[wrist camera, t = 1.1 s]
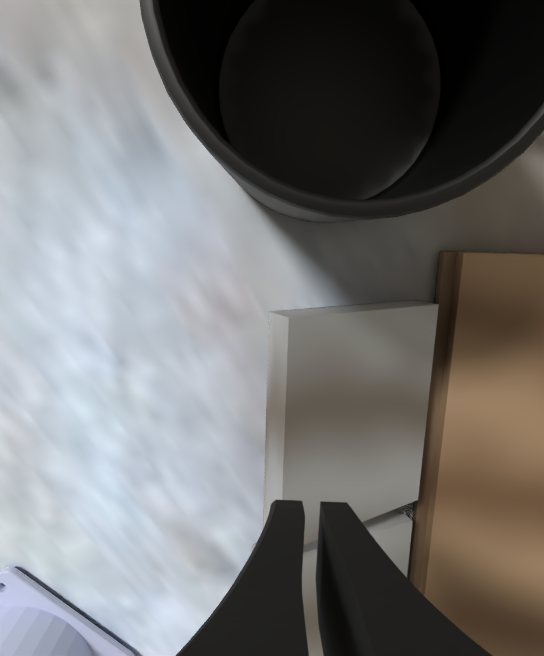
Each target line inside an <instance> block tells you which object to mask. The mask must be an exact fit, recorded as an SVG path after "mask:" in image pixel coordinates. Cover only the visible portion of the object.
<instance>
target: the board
mask: <svg viewBox="0 0 544 656" xmlns="http://www.w3.org/2000/svg"><path fill="white" fill-rule="evenodd" d="M435 304H439V306H438V316H437V325H436V334H435V344H434V353H433V363H432V372H431V382H430V391H429V401H428V410H427V419H426V429H425V438H424V448H423V457H422V467H421V476H420V486H419V495H418V500H417V501H414V507H413V517H412V521H413V523H412V533H411V542H410V552H409V562H408V571H407V578H408V580H409V581H410V582H411V583H412V584H413V585H414V586H415V587H416V588H417V589H418V590H419V591H420V592H421V593H422V594H423V595H424V596H425V597H426V598H427V599H428V600H429V601H430V602H431V603H432V604H433V605H434V606H435V607H436V608H437V609H438V610H439V611H440V612H441V613H443V614H444V615H445V616H446V617H447V618H448V619H449V620H450V621H451V622H452V623H454V624H455V625H456V626H457V627H458V628H459V629H460V630H461V631H463V632H464V633H465V634H466V635H467V636H469V637H470V638H471V639H472V640H473V641H475V642H476V643H477V644H478V645H480V646H481V647H482V648H483V649H485V650H486V651H487V652H489V653H490V654H491V655H492V656H544V254H521V253H487V252H454V251H440V257H439V267H438V276H437V286H436V295H435Z"/></svg>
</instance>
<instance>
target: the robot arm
mask: <svg viewBox="0 0 544 656" xmlns="http://www.w3.org/2000/svg"><path fill="white" fill-rule="evenodd" d="M304 530H305V513H304V507H303V502H302V501H299V500H275V501H274V502H272V503H271V506H270V511H269V515H268V518H267V521H266V524H265V526H264V528H263V531H262V533H261V535H260V537H259V539H258V541H257V543H256V545H255V547H254V549H253V551H252V553H251V555H250V557H249V559H248V561H247V562H246V564H245V566H244V567H243V569H242V570H241V572H240V574H239V575H238V577H237V579H236V580H235V582H234V584H233V585H232V587H231V588H230V590H229V591H228V592H227V594H226V595H225V597H224V598H223V600H222V601H221V602H220V604H219V605H218V606H217V608H216V609H215V610H214V612H213V613H212V614H211V616H210V617H209V618H208V619H207V621H206V622H205V623H204V624H203V625H202V626H201V628H200V629H199V630H198V631H197V632H196V634H195V635H194V636H193V637H192V638H191V639H190V641H189V642H188V643H187V644H186V645H185V646H184V647H183V648H182V649H181V651H180V652H179V653H178V654H177V655H176V656H309V652H308V643H307V635H306V626H305V616H304V606H303V597H302V566H303V548H304ZM315 580H316V597H317V612H318V625H319V631H320V637H321V643H322V649H323V655H324V656H492V655H491V654H490V653H489V652H487V651H486V650H485V649H483V648H482V647H481V646H480V645H478V644H477V643H476V642H475V641H473V640H472V639H471V638H470V637H469V636H467V635H466V634H465V633H464V632H463V631H461V630H460V629H459V628H458V627H457V626H456V625H455V624H454V623H452V622H451V621H450V620H449V619H448V618H447V617H446V616H445V615H444V614H443V613H441V612H440V611H439V610H438V609H437V608H436V607H435V606H434V605H433V604H432V603H431V602H430V601H429V600H428V599H427V598H426V597H425V596H424V595H423V594H422V593H421V592H420V591H419V590H418V589H417V588H416V587H415V586H414V585H413V584H412V583H411V582H410V581H409V580H408V578H407V577H406V576H405V575H404V574H403V573H402V572H401V571H400V569H399V568H398V567H397V566H396V565H395V564H394V562H393V561H392V560H391V559H390V558H389V556H388V555H387V554H386V553H385V552H384V550H383V549H382V548H381V547H380V545H379V544H378V543H377V542H376V540H375V539H374V538H373V536H372V535H371V534H370V533H369V531H368V530H367V529H366V527H365V526H364V525H363V523H362V522H361V520H360V519H359V518H358V516H357V515H356V513H355V512H354V511H353V509H352V508H351V507H350V505H349V504H348V503H347V502H324V501H320V514H319V530H318V546H317V561H316V577H315ZM1 583H3V584H4V585H5V586H4V585H2V584H1ZM0 656H135V655H134V654H133V652H131V651H130V650H129V649H127V648H126V647H125V646H123V645H122V644H120V643H119V642H118V641H116V640H115V639H114V638H112V637H111V636H109V635H108V634H107V633H105V632H104V631H102V630H101V629H100V628H98V627H97V626H96V625H94V624H93V623H91V622H90V621H89V620H87V619H86V618H84V617H83V616H82V615H80V614H79V613H78V612H76V611H75V610H73V609H72V608H71V607H69V606H68V605H66V604H65V603H64V602H62V601H61V600H60V599H58V598H57V597H55V596H54V595H53V594H51V593H50V592H48V591H47V590H46V589H44V588H43V587H42V586H40V585H39V584H37V583H36V582H35V581H33V580H32V579H30V578H29V577H28V576H26V575H25V574H24V573H22V572H21V571H19V570H18V569H17V568H15V567H10V566H8V567H5V568H3V569H2V570H1V571H0Z"/></svg>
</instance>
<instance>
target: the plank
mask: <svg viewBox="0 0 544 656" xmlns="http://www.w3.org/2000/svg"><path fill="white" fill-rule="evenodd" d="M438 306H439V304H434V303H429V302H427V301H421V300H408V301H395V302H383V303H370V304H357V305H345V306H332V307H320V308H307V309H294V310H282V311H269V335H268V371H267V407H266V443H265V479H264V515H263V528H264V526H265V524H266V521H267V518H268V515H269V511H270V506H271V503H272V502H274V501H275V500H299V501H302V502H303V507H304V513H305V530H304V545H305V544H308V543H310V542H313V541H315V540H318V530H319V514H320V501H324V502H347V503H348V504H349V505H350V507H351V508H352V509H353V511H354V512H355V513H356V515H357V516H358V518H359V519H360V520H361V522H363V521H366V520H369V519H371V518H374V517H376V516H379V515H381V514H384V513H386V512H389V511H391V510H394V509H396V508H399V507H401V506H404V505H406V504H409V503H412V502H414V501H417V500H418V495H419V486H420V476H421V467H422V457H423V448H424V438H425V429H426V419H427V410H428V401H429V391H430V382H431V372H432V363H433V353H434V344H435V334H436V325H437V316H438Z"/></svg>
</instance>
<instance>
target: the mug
mask: <svg viewBox="0 0 544 656" xmlns="http://www.w3.org/2000/svg"><path fill="white" fill-rule="evenodd" d="M140 7H141V16H142V21H143V24H144V28H145V32H146V36H147V39H148V43H149V47H150V50H151V53H152V56H153V59H154V62H155V65H156V67H157V69H158V72H159V74H160V76H161V79H162V81H163V84H164V86H165V88H166V91H167V93H168V95H169V96H170V98H171V100H172V101H173V103H174V105H175V106H176V108H177V110H178V111H179V113H180V115H181V116H182V118H183V120H184V121H185V122H186V124H187V125H188V127H189V128H190V129H191V131H192V132H193V133H194V134H195V136H196V137H197V138H198V139H199V140H200V142H201V143H202V144H203V145H204V146H205V148H206V149H207V150H208V151H209V152H210V154H211V155H212V156H213V157H214V158H215V159H216V160H217V161H218V162H219V163H220V164H221V165H222V167H223V168H224V169H225V170H226V171H227V172H228V173H229V174H230V175H231V176H232V177H233V178H234V179H235V181H236V182H237V183H238V184H239V185H240V186H241V187H242V188H243V189H244V190H246V191H247V192H248V193H249V194H250V195H251V196H252V197H254V198H255V199H256V200H258V201H259V202H261V203H262V204H264V205H265V206H267V207H268V208H270V209H272V210H274V211H276V212H279V213H281V214H283V215H286V216H289V217H292V218H295V219H299V220H303V221H308V222H321V223H331V222H344V221H355V220H366V219H378V218H389V217H398V216H402V215H406V214H410V213H414V212H419V211H423V210H426V209H429V208H432V207H435V206H438V205H440V204H443V203H445V202H447V201H450V200H452V199H455V198H457V197H460V196H462V195H464V194H466V193H467V192H469V191H471V190H472V189H474V188H476V187H477V186H479V185H481V184H482V183H484V182H486V181H487V180H489V179H490V178H492V177H493V176H495V175H496V174H498V173H499V172H500V171H502V170H503V169H504V168H505V167H506V166H508V165H509V164H510V163H511V162H513V161H514V160H515V159H516V158H517V157H519V156H520V155H521V154H522V153H524V151H525V150H526V149H527V148H528V147H529V146H530V145H531V144H532V143H533V142H534V141H535V140H536V138H537V137H538V136H539V135H540V134H541V133H542V132H543V131H544V0H140Z"/></svg>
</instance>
